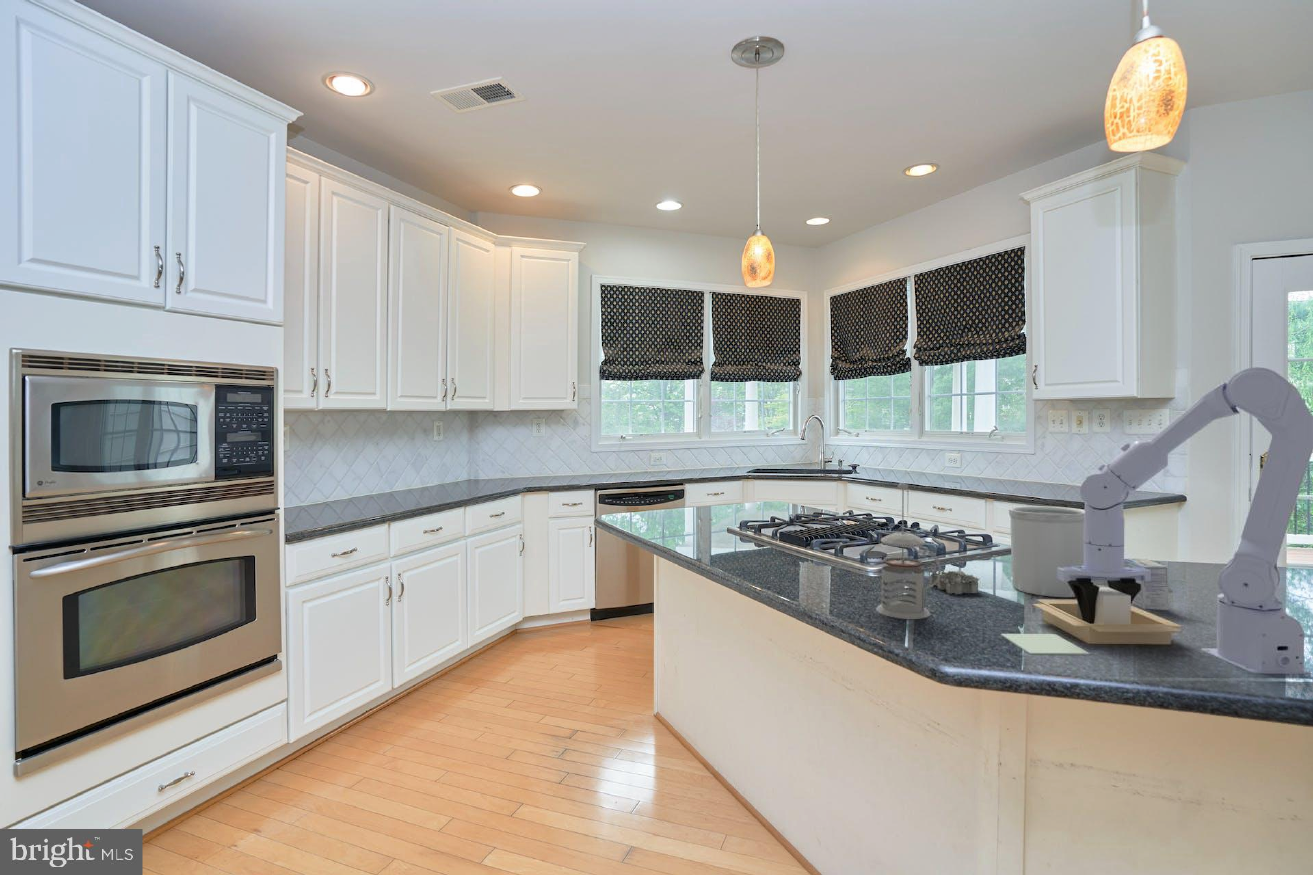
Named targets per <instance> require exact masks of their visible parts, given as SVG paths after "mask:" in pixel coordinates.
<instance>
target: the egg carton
mask: <svg viewBox="0 0 1313 875" xmlns="http://www.w3.org/2000/svg"><path fill="white" fill-rule="evenodd" d="M927 570H929V572H931V574H930V575H929V585H931V584H933V583H934V582H936V580H937V578H938V572H937V570H936V569H934V568H933V569H932V568H931V567H930V566H927ZM979 580H980V578H978V577H976V576H974V575H973V574H966V573H965V572H964V571H963V570H954V571H953V570H951V571H950V570H949V571H948V572H947V571H946V572H945V571H944V570H943V571H941V574H940V578H939V580H938V582H937V583H936V584H935V587H937V589H939V590H943V589H946V594H947V593H948V594H952V593H955V594H954V595H957V594H961V595H962V594H970V593H976V594H977V593H978V592H979ZM950 582H951V583H950ZM977 591H978V592H977ZM964 592H965V593H964Z"/></svg>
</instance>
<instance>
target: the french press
mask: <svg viewBox="0 0 1313 875" xmlns="http://www.w3.org/2000/svg"><path fill="white" fill-rule="evenodd" d="M897 489H899V490H901V491H902V493H901V494H902V497H901V498H902V500H901V502H902V503H901V504H902V506H901V508H902V510H901V511H902V512H901V513H902V514H901V515H902V516H901V517H902V518H901V520H902V523H901V525H902V528H901V529H902V530H901V531H900V532H893V533H891V534H888V535H885V536H884V537H881V538H880V542H881V543H882V544H883V545H886V546H893V547H897V548H898V547H899V548H902V549H901V552H902V553H901V557H888V558H884V559H883V560H882V561H883V563H884V564H885V565H883V566H882V567H881V604H879V605H878V606H877V607H876V610H875V611H877V612H878V613H879V614H881V615H883V616H887V617H892V618H895V619H896V618H897V619H902V620H903V619H905V620H906V619H907V620H918V619H919V620H920V619H924V618H925V619H926V618H928V617H929V616H931V613H930V611H929V610H928V609H927V608H926V590H929V589H931V588H933V587H934V585H935V584H936V583H937V582H938V580H939V578H940V575H941V572H942V571H941V570H942V566H941V564H942V563H941V562H940V560H939V558H938V556H937V555H936V554H935V553H934V551H931V550H930V549H927V548H926V549H924V550H923V551H922V558H926V555H927V554H928V555H930V556H931V557H932V558H933V559H934V561H935V562H936V565H937V569H938V570H937V571H938V572H937V574H938V578H937V580H936V582H934V583H933V584H931V585H930V584H928V585H927V586H925V569H923V568H922V567H921V566H923V564H924V563H923V561H921V560H919V559H916V558H909V557H905V558H904V548H918V547H922V546H925V545H926V541H925V540H924V539H923V538H921V537H920V536H918V535H915V534H913V533H910V532H909V533H908V532H906V531H904V506H905V504H904V502H905V501H904V495H905V494H904V490H908V489H909V485H908V484H907V483H906V482H899V484H897ZM926 553H927V554H926ZM920 567H921V568H920ZM906 572H908V573H906ZM909 572H913V573H909ZM902 580H905V581H903V582H901V583H897V582H900V581H902ZM892 583H893V585H888V584H892ZM894 583H895V584H894ZM902 587H904V588H902ZM899 588H901V589H899ZM895 589H898V590H895ZM888 590H894V591H888ZM898 594H899V595H900V594H902V595H900V596H897V597H893V596H895V595H898ZM888 597H889V598H888ZM890 597H892V598H890Z"/></svg>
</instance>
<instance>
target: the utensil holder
mask: <svg viewBox="0 0 1313 875" xmlns="http://www.w3.org/2000/svg"><path fill="white" fill-rule="evenodd" d="M1008 514H1009V516H1010V546H1011V548H1010V549H1011V551H1010V552H1011V556H1010V557H1011V558H1010V559H1011V573H1012V574H1011V577H1012V587H1013V588H1014V589H1015V590H1017V589H1018V590H1017V591H1021V592H1023V593H1026V594H1031V595H1037V596H1043V597H1050V598H1051V597H1052V598H1076V597H1075V595H1074V593H1073V591H1072V589H1071V587H1070V586H1069V584H1068V582H1067V581H1062V580H1060V579H1057V568H1065V567H1075V566H1084V515H1085V509H1082V508H1074V507H1064V506H1045V505H1043V506H1040V505H1038V506H1037V505H1036V506H1035V505H1032V506H1031V505H1030V506H1029V505H1028V506H1027V505H1026V506H1014V507H1013V506H1012V507H1010V508H1008Z"/></svg>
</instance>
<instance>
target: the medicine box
mask: <svg viewBox="0 0 1313 875" xmlns="http://www.w3.org/2000/svg"><path fill="white" fill-rule="evenodd" d="M1124 567H1132V568H1145V569H1148V570H1151V581H1142V580H1136V583H1139V584H1141V590H1140V592H1139V593H1138V594H1137V595H1136V597H1135V598H1134V600H1133V601H1132V603H1131V604H1134V605H1136V606H1137V607H1139V608H1141V609H1142V610H1143V609H1144V610H1158V611H1159V610H1161V611H1162V610H1163V611H1169V568H1168V567H1167V566H1166V565H1163V564H1161V563H1158V562H1155V561H1152V560H1149V559H1146V558H1136V557H1135V558H1131V557H1130V558H1124Z"/></svg>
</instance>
